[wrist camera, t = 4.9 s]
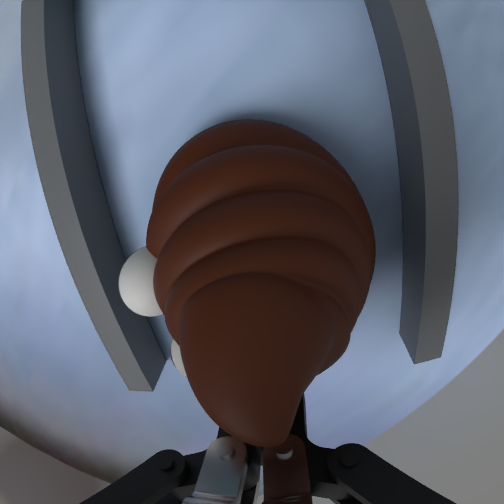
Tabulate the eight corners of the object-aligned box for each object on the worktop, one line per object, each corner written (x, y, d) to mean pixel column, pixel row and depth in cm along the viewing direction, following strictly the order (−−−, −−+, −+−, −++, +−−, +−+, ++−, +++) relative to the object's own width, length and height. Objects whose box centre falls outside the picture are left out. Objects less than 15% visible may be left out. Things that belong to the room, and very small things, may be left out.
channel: (51, -8, 9) (-9, -30, 4) (355, -88, 6) (377, -144, 2) (144, 361, 17) (113, 424, 12) (423, 327, 14) (459, 392, 10)
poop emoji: (388, 287, 14) (470, 449, 5) (235, 350, 16) (203, 515, 7) (297, 85, 11) (348, -21, 2) (125, 185, 13) (-41, 278, 4)
